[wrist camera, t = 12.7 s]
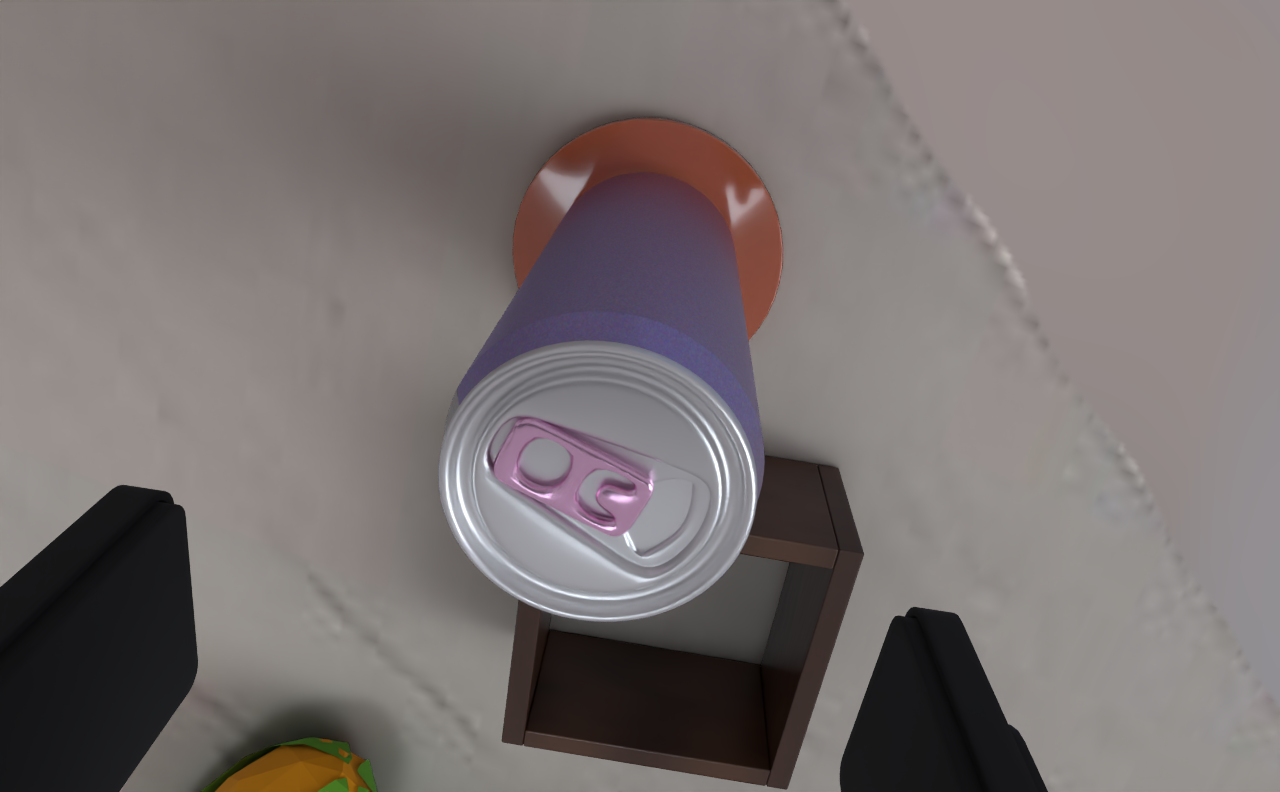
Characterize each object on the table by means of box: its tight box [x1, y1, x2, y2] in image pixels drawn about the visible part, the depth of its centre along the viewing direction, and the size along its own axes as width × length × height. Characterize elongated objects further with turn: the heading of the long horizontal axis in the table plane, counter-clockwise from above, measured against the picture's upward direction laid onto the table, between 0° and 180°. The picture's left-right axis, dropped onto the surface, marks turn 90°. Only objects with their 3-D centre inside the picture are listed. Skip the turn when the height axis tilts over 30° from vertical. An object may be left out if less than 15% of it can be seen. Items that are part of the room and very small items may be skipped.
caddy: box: [502, 456, 864, 789], centre depth 32 cm, size 11×11×6 cm
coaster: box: [513, 117, 783, 341], centre depth 29 cm, size 9×9×1 cm
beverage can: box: [438, 172, 764, 622], centre depth 22 cm, size 6×6×15 cm
